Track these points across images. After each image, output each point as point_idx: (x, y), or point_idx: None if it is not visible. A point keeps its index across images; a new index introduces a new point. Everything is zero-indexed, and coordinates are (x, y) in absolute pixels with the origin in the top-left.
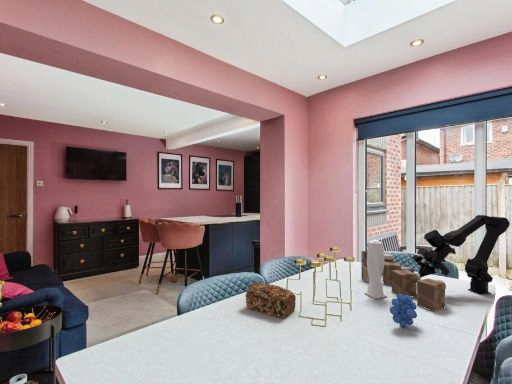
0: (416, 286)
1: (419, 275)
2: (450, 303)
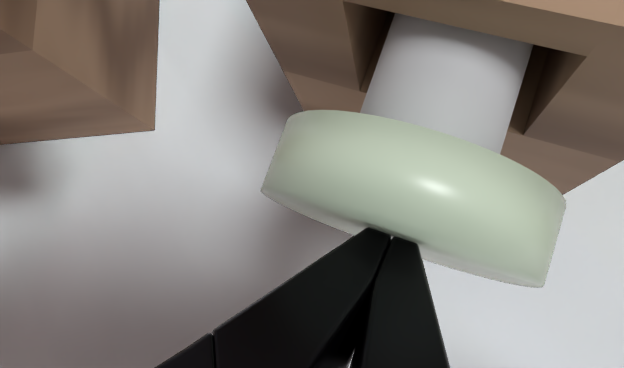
0: (296, 94)
1: (275, 167)
2: (11, 331)
